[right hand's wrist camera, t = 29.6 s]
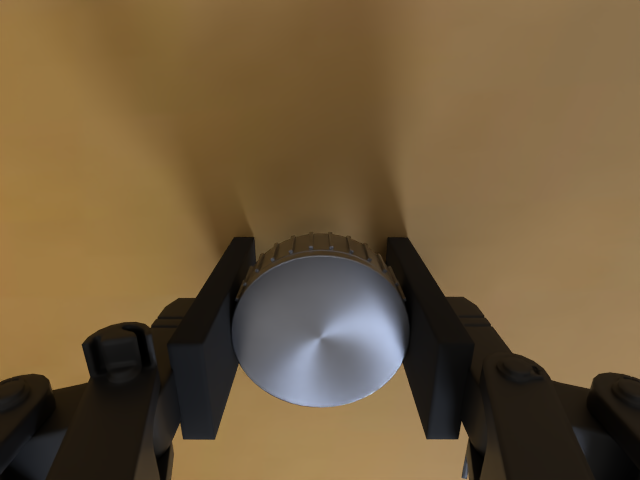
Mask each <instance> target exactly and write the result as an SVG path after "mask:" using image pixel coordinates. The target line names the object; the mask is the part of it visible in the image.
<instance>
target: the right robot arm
mask: <svg viewBox="0 0 640 480" xmlns="http://www.w3.org/2000/svg"><path fill="white" fill-rule="evenodd" d="M255 264H256V256H255V241H254V237H234V239H233V240H232V242H231V243H230V245H229V246H228V248H227V250H226V251H225V253H224V254H223V256H222V257H221V259H220V261H219V262H218V264H217V265H216V267H215V269H214V270H213V272H212V273H211V275H210V276H209V278H208V280H207V281H206V283H205V284H204V286H203V288H202V289H201V291H200V292H199V294H198V295H197V297H196V298H178V299H177V300H175V301H174V302H172V303H171V304H169V305H167V306H166V307H165V308H164V309H163V311H162V312H161V313H160V315H159V316H158V319H156V320H155V321H154V323H153V324H152V325H151V328H149V327H148V326H147V325H146V324H143V323H138V322H123V323H119V324H114V325H110V326H108V327H106V328H103V329H101V330H98V331H97V332H95V333H94V334H92V335H91V336H89V337H88V338H87V339H86V340H85V341H84V342H83V344H82V348H83V351H84V355H85V359H86V362H87V366H88V370H89V374H90V379H89V382H88V383H84V384H80V385H76V386H71V387H66V388H61V389H57V390H52V388H51V385H50V382H49V380H48V379H47V378H46V377H45V376H43V375H38V374H28V375H20V376H16V377H12V378H9V379H6V380H3V381H1V382H0V480H171V475H172V467H173V458H174V452H173V445H172V440H173V437H174V435H175V433H176V431H177V428H178V426H179V424H181V429H182V435H183V439H207V440H215V437H216V434H217V431H218V428H219V425H220V422H221V418H222V415H223V412H224V409H225V406H226V402H227V399H228V396H229V393H230V390H231V387H232V383H233V380H234V377H235V374H236V371H237V367H238V364H239V362H238V360H237V358H236V355H235V352H234V350H233V346H232V340H231V322H232V316H233V313H234V309H235V306H236V304H237V302H236V301H235V298H236V296H237V294H238V291H239V289H240V286H241V284H242V281H243V280H245V277H246V275H247V273H248V270H249V268H250V266H254V265H255ZM386 265H387V267H389V266H391V268H392V270H393V272H394V274H395V277H396V279H397V280H398V282H399V284H400V286H401V289H402V291H403V293H404V295H405V298H406V300H407V301H406V302H405V305H406V308H407V311H408V314H409V319H410V325H411V326H410V342H409V347H408V350H407V353H406V356H405V358H404V360H403V365H404V368H405V372H406V375H407V378H408V381H409V384H410V388H411V391H412V394H413V397H414V400H415V404H416V407H417V410H418V413H419V416H420V420H421V423H422V426H423V429H424V432H425V436H426V439H458V438H459V432H460V426H461V421H462V423H463V425H464V427H465V430H466V432H467V434H468V437H469V440H468V445H467V450H466V455H465V461H464V466H463V472H462V478H465V479H467V475H469V480H640V379H638V378H635V377H630V376H628V375H624V374H618V373H610V372H609V373H602V374H598V375H597V376H596V377H595V378H593V381H592V385H591V388H590V389H587V388H583V387H578V386H573V385H569V384H564V383H559V382H556V381H552V380H551V379H550V377H549V375H548V374H547V372H546V371H545V370H544V368H542V367H541V366H540V365H538V364H537V363H536V362H534V361H532V360H530V359H528V358H526V357H524V356H521V355H517V354H513V353H512V352H511V351H510V349H509V348H508V347H507V345H506V344H505V343H504V341H503V340H502V339H501V337H500V336H499V335H498V333H497V332H496V331H495V329H494V328H493V327H491V324H490V323H489V321H488V320H487V319H486V318H484V315H483V313H482V312H481V311H480V309H479V308H478V307H477V306H476V305H475V304H473V303H472V302H470V301H469V300H467V299H466V298H464V297H445V296H444V294H443V293H442V291H441V289H440V288H439V286H438V285H437V283H436V281H435V280H434V278H433V277H432V275H431V273H430V272H429V270H428V269H427V267H426V266H425V264H424V262H423V261H422V259H421V258H420V256H419V254H418V253H417V251H416V250H415V248H414V247H413V245H412V243H411V242H410V240H409V239H408V238H405V237H388V240H387V255H386Z"/></svg>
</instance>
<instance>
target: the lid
mask: <svg viewBox="0 0 640 480" xmlns="http://www.w3.org/2000/svg"><path fill="white" fill-rule="evenodd" d="M235 301H236V302H237V304H236V306H235V309H234V313H233V316H232V322H231V340H232V346H233V350H234V352H235V355H236V358H237V360H238V362H239V364H240V366H241V367H242V369H243V370H244V372H245V373H246V374H247V376H248V377H249V378H250V379H251V380H252V381H253V382H254V383H255V384H256V385H258V386H259V387H260V388H261V389H263V390H264V391H266V392H267V393H269V394H270V395H272V396H274V397H276V398H279V399H281V400H283V401H286V402H289V403H292V404H297V405H301V406H308V407H333V406H339V405H344V404H348V403H351V402H355V401H357V400H360V399H362V398H364V397H366V396H368V395H370V394H372V393H374V392H375V391H376V390H378V389H379V388H381V387H382V386H383V385H384V384H385V383H387V382H388V381H389V380H390V379H391V378H392V376H393V375H394V374H395V373H396V372H397V370H398V369H399V367H400V366H401V364H402V362H403V360H404V358H405V356H406V353H407V350H408V347H409V342H410V326H411V325H410V319H409V314H408V311H407V308H406V305H405V302H406V301H407V300H406V298H405V295H404V293H403V291H402V289H401V286H400V284H399V282H398V280H397V279H396V277H395V274H394V272H393V270H392V268H391V266H389V267H387V265H386V264H385V262H384V261H383V259H382V256H381V255H380V254H379V253H378V254H376V253H374V252H373V251H372V250H371V249H369V248H368V246H367V244H366V243H364V244H361V243H359V242H357V241H355V240H352V239H351V237H350V236H347V237H343V236H338V235H332V232H329V233H328V234H313V232H310V234H308V235H303V236H298V237H295V236H291V239H289V240H286V241H284V242H282V243H280V244H278V243H276V244H274V247H273V248H272V249H270V250H269V251H268V252H267V253H265V254H263V253H262V254H261V255H260V257H259V260H258V261H257V263H256V264H255V265H254V266H250V268H249V270H248V273H247V275H246V277H245V280H243V281H242V284H241V286H240V289H239V291H238V294H237V296H236V298H235Z"/></svg>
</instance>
